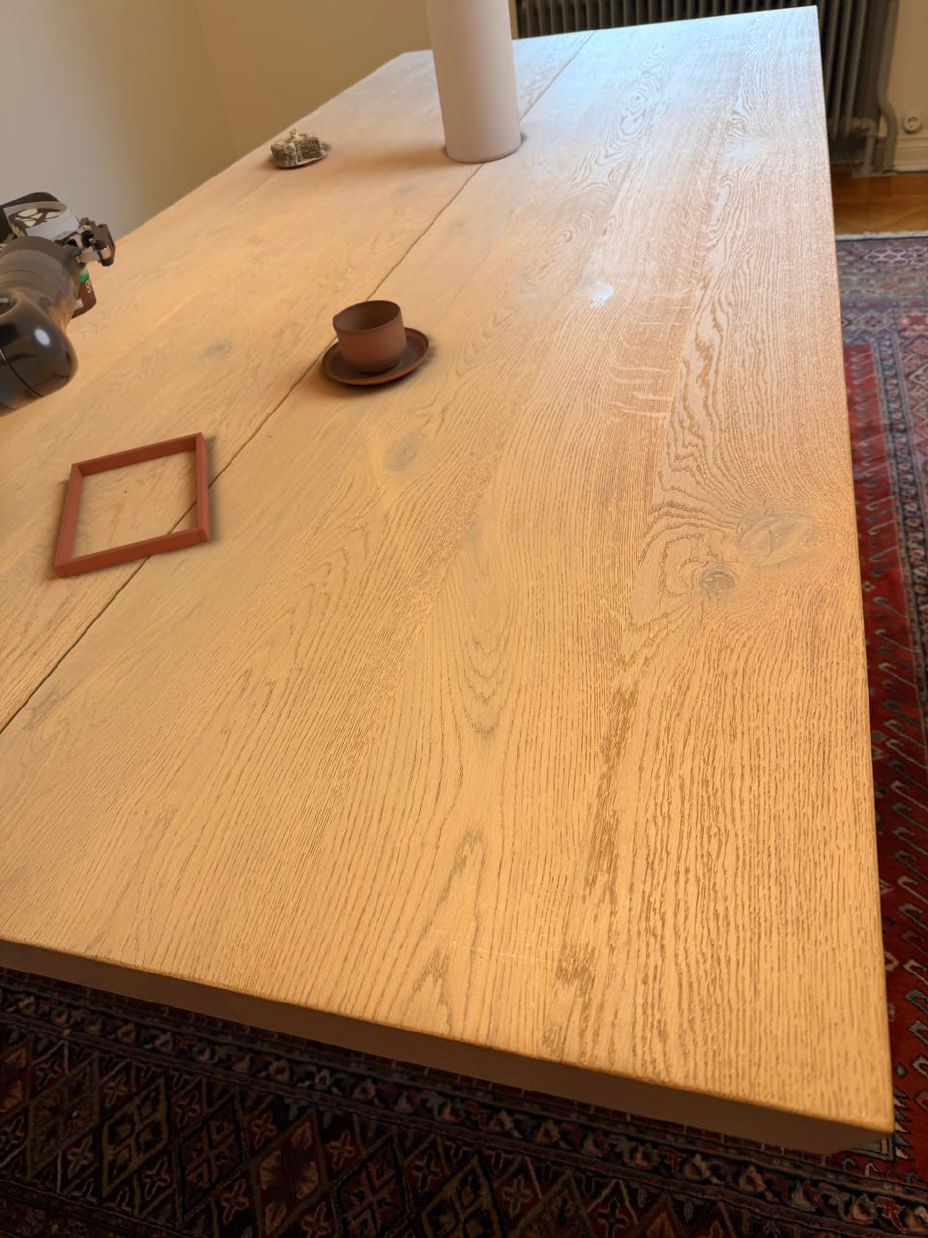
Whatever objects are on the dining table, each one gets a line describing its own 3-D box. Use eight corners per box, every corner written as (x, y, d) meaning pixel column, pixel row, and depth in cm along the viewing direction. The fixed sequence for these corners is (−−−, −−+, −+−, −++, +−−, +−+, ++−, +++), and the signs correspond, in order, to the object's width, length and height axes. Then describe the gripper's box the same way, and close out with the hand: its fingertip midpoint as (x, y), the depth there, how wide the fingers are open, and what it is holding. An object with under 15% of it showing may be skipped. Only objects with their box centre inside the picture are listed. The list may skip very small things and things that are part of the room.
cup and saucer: (307, 391, 100) (292, 339, 95) (355, 339, 107) (343, 289, 103) (405, 398, 95) (393, 344, 91) (448, 344, 103) (439, 291, 99)
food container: (120, 308, 100) (86, 213, 93) (65, 326, 97) (26, 229, 91) (91, 282, 108) (57, 192, 102) (39, 297, 106) (2, 207, 99)
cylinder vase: (485, 135, 159) (465, -38, 142) (537, 143, 151) (522, -38, 134) (432, 158, 154) (405, -19, 137) (483, 168, 146) (460, -18, 129)
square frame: (65, 588, 80) (53, 566, 78) (82, 484, 92) (71, 463, 91) (213, 550, 81) (203, 528, 79) (209, 452, 93) (201, 431, 91)
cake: (263, 171, 164) (252, 139, 161) (299, 153, 170) (290, 122, 167) (301, 169, 159) (291, 136, 156) (338, 151, 164) (329, 118, 161)
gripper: (91, 234, 85) (103, 184, 98) (-62, 268, 84) (-31, 213, 96) (123, 310, 90) (130, 254, 103) (-22, 343, 89) (3, 282, 101)
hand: (52, 234), depth 99 cm, fingers closed on food container, 7 cm apart
